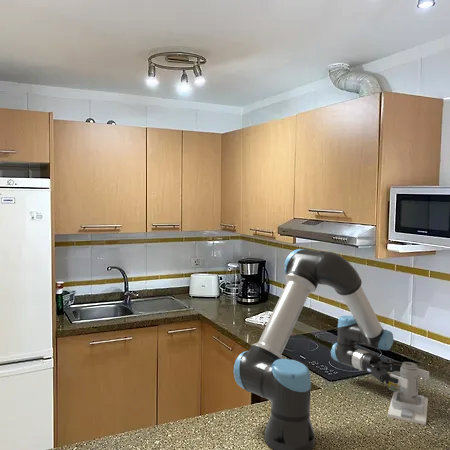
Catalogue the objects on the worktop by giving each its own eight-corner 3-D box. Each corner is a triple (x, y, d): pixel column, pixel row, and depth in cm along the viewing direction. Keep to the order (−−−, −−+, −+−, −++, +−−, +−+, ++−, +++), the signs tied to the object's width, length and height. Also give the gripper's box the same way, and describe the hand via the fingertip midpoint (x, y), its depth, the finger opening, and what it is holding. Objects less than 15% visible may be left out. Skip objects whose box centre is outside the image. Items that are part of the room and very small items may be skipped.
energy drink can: (416, 410, 154) (417, 368, 153) (398, 406, 157) (399, 365, 156) (418, 404, 159) (419, 363, 158) (400, 400, 162) (401, 360, 161)
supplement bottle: (391, 392, 172) (392, 367, 171) (385, 386, 177) (386, 363, 177) (405, 392, 172) (406, 367, 172) (398, 386, 178) (399, 362, 177)
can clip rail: (425, 425, 146) (426, 414, 146) (387, 416, 151) (387, 406, 151) (427, 400, 165) (428, 391, 165) (393, 394, 170) (394, 385, 170)
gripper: (385, 365, 180) (436, 382, 163) (346, 378, 165) (397, 398, 148) (385, 346, 179) (437, 362, 162) (346, 358, 164) (398, 376, 147)
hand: (418, 379), depth 155 cm, fingers open, 13 cm apart
